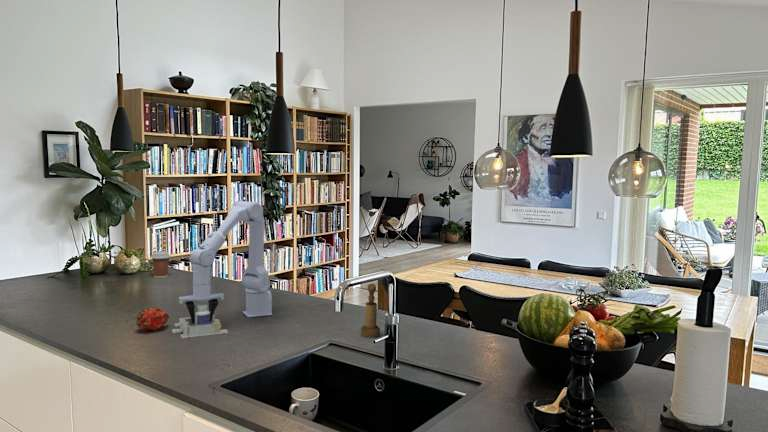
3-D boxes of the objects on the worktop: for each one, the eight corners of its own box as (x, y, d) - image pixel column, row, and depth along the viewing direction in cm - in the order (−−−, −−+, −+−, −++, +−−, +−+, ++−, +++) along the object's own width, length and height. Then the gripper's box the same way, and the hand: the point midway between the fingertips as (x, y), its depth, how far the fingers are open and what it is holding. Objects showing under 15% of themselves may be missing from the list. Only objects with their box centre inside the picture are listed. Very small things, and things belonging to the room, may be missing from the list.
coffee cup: (147, 277, 267) (146, 253, 266) (157, 273, 276) (157, 250, 274) (164, 278, 265) (164, 254, 264) (174, 275, 274) (174, 251, 273)
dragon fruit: (132, 338, 182) (165, 334, 191) (146, 327, 178) (178, 324, 187) (127, 314, 185) (159, 312, 195) (140, 303, 181) (172, 302, 191)
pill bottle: (213, 329, 189) (213, 304, 188) (201, 332, 184) (201, 307, 184) (202, 326, 191) (202, 301, 191) (190, 330, 187) (190, 304, 186)
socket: (217, 320, 199) (217, 312, 199) (228, 332, 185) (228, 324, 185) (169, 325, 191) (169, 317, 191) (175, 339, 177) (175, 330, 177)
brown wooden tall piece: (365, 338, 184) (367, 286, 182) (357, 333, 190) (359, 282, 188) (383, 336, 187) (384, 285, 185) (374, 331, 193) (376, 281, 191)
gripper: (220, 279, 194) (220, 316, 196) (177, 282, 187) (177, 320, 188) (225, 283, 188) (225, 321, 189) (181, 286, 181) (181, 326, 182)
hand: (201, 321), depth 189 cm, fingers closed on pill bottle, 5 cm apart
